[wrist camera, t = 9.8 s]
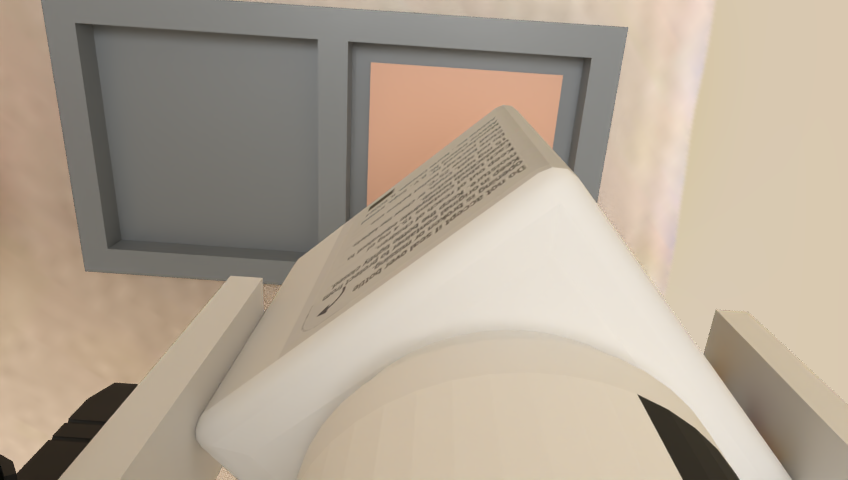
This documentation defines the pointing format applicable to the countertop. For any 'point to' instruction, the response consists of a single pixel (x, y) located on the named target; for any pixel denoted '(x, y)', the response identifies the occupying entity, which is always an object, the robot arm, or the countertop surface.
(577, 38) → the two-bay tray
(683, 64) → the countertop surface
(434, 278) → the container
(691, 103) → the countertop surface
